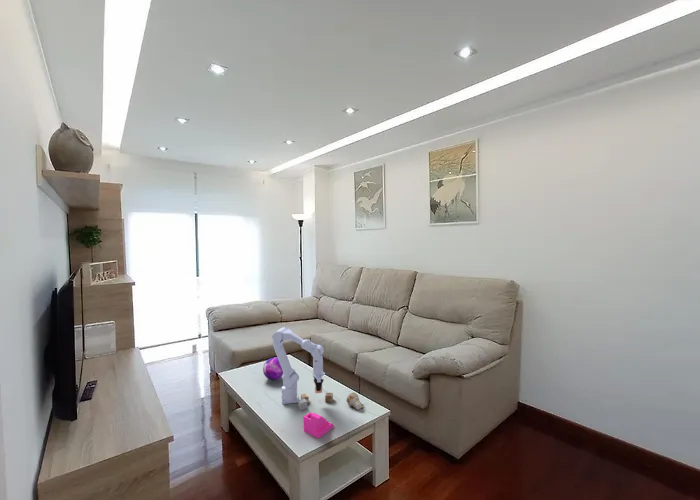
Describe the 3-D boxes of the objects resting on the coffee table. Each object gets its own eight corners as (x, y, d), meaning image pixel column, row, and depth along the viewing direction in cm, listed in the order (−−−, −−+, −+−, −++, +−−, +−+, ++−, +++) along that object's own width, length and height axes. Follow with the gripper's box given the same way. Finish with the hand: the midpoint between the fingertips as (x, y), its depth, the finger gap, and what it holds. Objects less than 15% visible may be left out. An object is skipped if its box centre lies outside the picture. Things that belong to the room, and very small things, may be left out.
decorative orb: (289, 377, 227) (289, 356, 226) (274, 386, 214) (273, 364, 213) (274, 372, 235) (274, 352, 234) (258, 380, 222) (258, 359, 221)
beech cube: (302, 404, 191) (302, 397, 191) (300, 400, 195) (300, 394, 195) (308, 402, 192) (308, 396, 192) (307, 399, 196) (307, 393, 196)
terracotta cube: (315, 393, 188) (315, 386, 188) (315, 390, 192) (314, 383, 192) (322, 392, 189) (322, 386, 188) (321, 389, 192) (321, 382, 192)
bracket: (318, 438, 159) (318, 418, 158) (303, 431, 165) (303, 411, 165) (334, 426, 169) (333, 407, 168) (319, 420, 175) (319, 401, 174)
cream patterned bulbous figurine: (356, 413, 181) (348, 396, 183) (350, 412, 189) (343, 396, 192) (366, 406, 184) (359, 389, 187) (360, 406, 193) (353, 390, 195)
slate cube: (300, 410, 185) (300, 403, 185) (298, 406, 188) (298, 400, 188) (307, 408, 187) (306, 401, 187) (304, 404, 190) (304, 398, 190)
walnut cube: (325, 402, 193) (325, 395, 193) (326, 398, 197) (326, 392, 197) (331, 402, 192) (331, 396, 192) (332, 399, 196) (332, 392, 196)
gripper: (325, 371, 183) (326, 394, 184) (323, 361, 197) (324, 382, 198) (313, 372, 182) (313, 395, 182) (312, 361, 196) (312, 383, 197)
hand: (318, 388), depth 190 cm, fingers closed on terracotta cube, 4 cm apart
